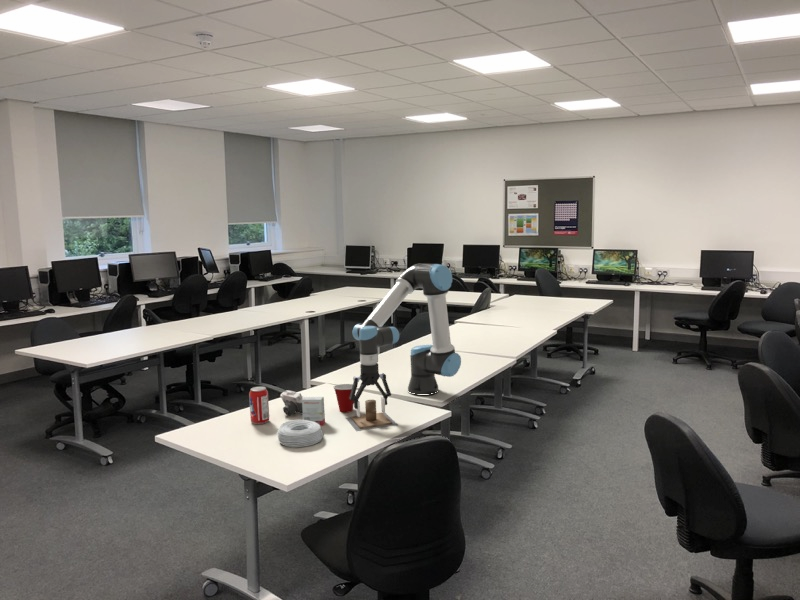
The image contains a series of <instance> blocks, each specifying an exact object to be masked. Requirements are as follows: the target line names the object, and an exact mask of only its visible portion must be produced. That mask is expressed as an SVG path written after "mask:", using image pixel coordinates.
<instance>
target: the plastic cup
mask: <svg viewBox="0 0 800 600" xmlns="http://www.w3.org/2000/svg"><path fill="white" fill-rule="evenodd" d="M352 386H353V383H340V384H335V385H334V386H333V389H334V391H335V396H336V402H337V405H338V409H339V410H338V411H339V412H341V413H351V412H352V411H354V401H351V400H350V399H349V397H350V394H351V390H352ZM354 397H355V396H354Z"/></svg>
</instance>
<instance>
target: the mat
mask: <svg viewBox="0 0 800 600" xmlns="http://www.w3.org/2000/svg"><path fill="white" fill-rule="evenodd" d="M382 413H383V412H382ZM383 414H384V415H385V416H386V417H387V418H388V419H389V420H390V421H391V422H392V424H390V425H383V426H377V427H370V428H363V429H360V428H359V427H358V426H357V425H356V424H355V423H354V421H353V420H352V419H351V417H352V416H348V417H345V419H346V420H347V422H348V423H349V424H350V425H351V426H352V427H353V429H354V430H355V431H356V432H361V431H368V430H374V429H375V430H376V429H381V428H382V429H383V428H389V427H395V426H399V424H398V423H397V422H396V421H395V420H393V419H392V418H391V417H390V415H388V414H387V413H386V412H385V413H383Z"/></svg>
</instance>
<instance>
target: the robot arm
mask: <svg viewBox="0 0 800 600" xmlns="http://www.w3.org/2000/svg"><path fill="white" fill-rule="evenodd" d="M452 283H453V273H452V271H451V270H450V268H449V267H447V266H446V265H444V264H440V263H423V262H422V263H420V262H419V263H415V264H413V265H411V266H410V267H408V268H406V269H405V270H404V271H403V272H402V273H401V274H400V275H399V276H398V277H397V278H396V280H395V284H394V285H393V286H392V287H391V289H390V290H389V291H388V293H386V294H385V296H384V297H383V298H382V300H381V301H380V302H379V303H378V304H377V306H376V307H375V308H374V309H373V311H372V312H371V313H370V314H369V315H368V317H367V318H366V319H365V320H364V322H362V323H357V324H355V325H354V326H353V329H352V331H351V332H352V337H353V338H354V340H357V341H359V359H360V360H359V363H360V365H359V366H360V375H359V376H353V378H352V379H353V383H352V384H353V386H352V390H351V394H350V397H349V399H350V400H351V401H354V405H353V409H354V410H356V411H355V412H356V416H358V417H360V415H361V405H360V402H361V401H359V399H360V398H361V396H362V394H363V391H364V390H365V389H366V387H367V386H375V387H376V388H377V390H379V392H380V394H381V395H382V396H380V399H381V400H380V401H381V405H380V406H381V412H382V413H386V406H387V405H388V397H391V396H392V393H391V392H392V391H391V390H390V386H389V384H388V381H387V375H386V374H385V373H383V372H382V373H379V363H378V362H379V348H381V347H386V346H391V345H392V346H393V345H394V344H397V342H399V339H400V332H399V330H398V328H397V327H395V326H387V327H383V326H384V324H386V322H387V321H388V320H389V318H390V317H391V316H392V315H393V314H394V312H395V311H396V310H397V308H398V307H399V306H401V305H400V304H401V303H402V302H403V301H404V300H405V298H406V297H407V296H408V295H411V294H413V292H415V290H417V289H422V292H423V293H422V294H423V296H425V297H426V299H427V307H428V315H429V324H430V331H431V332H430V333H431V341H432V344H422V345H421V344H420V345H416V346H413V347H412V348H411V349H410V355H409V357H410V378H409V379H410V380H409V383H408V386H407V392H408V391H409V392H411V393H415V394H431V393H435V392H437V391H438V392H439V385H438V382H437V379H436V375H438V376H442V377H448V378H451V377H454V376H455V375H456V374H457V373H458V372H459V370H460V368H461V365H462V358H461V355H460V354H459V353H458V352H456V349H455V348H456V347H455V346H454V344H453V343H452V342H451V340H452V339H451V333H450V324H449V314H448V306H447V294H449V289H450V288H451V287H452ZM379 379H380V380H381V382H382V384H383V387H384V389H385V390H384V389H383V388H382V386H381V385H380V383H379V382H378V381H379ZM360 381H361V383H360V385H358V383H359V382H360ZM358 386H359V388H358ZM357 388H358V389H357ZM409 392H408V393H409ZM354 396H355V397H354Z"/></svg>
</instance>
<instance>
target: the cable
mask: <svg viewBox="0 0 800 600" xmlns="http://www.w3.org/2000/svg"><path fill="white" fill-rule="evenodd" d="M323 436H324V435H323V431H322V426H320V425H319V424H318V423H316V422H313V421H308V420H303V419H294V420H287V421H285V422H283V423H282V424H280V425H279V427H278V431H277V438H278V442H279V443H280V444H281V445H283V446H285V447H289V448H302V447H310V446H313V445H316V444H318V443H320V442H321V441H322V440H323V439H322V438H323Z"/></svg>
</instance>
